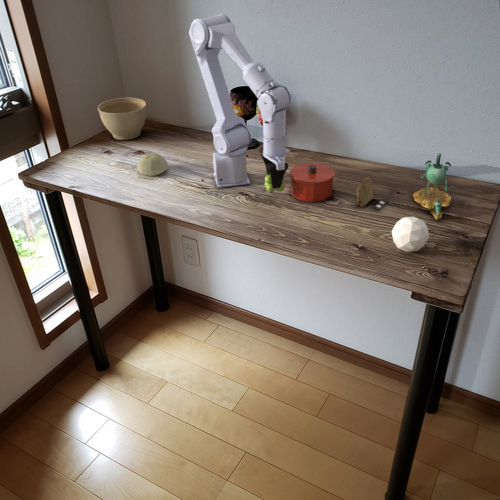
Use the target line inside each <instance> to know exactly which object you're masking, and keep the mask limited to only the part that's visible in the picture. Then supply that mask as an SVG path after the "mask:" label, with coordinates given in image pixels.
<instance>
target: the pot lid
mask: <svg viewBox="0 0 500 500" xmlns="http://www.w3.org/2000/svg"><path fill="white" fill-rule="evenodd" d="M335 174H336V172H335V170H334V169H333V167H332V166H329V165H327V164H324V163H319V162H304V163H300V164H296V165H294V166H293V167H292V168H291V169H290V170H289V175H290V178H291V177H292V178H293V179H294V180H296V181H298V182H302V183H307V184H319V183H325V182H328V181H330V180H331V179H333V180H334V178H335Z"/></svg>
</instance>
